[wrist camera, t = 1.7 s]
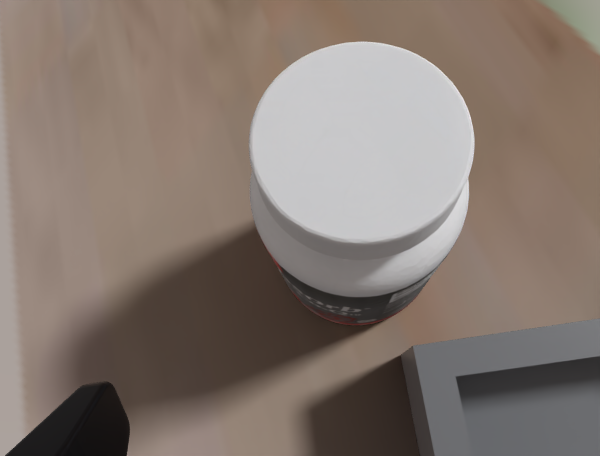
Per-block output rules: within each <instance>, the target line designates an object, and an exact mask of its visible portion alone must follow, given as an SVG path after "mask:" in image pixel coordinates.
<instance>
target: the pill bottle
mask: <svg viewBox="0 0 600 456" xmlns="http://www.w3.org/2000/svg"><path fill="white" fill-rule="evenodd" d="M249 155H250V163H251V168H252V174H251V180H250V203H251V210H252V214H253V218H254V222H255V225H256V228H257V231H258V233H259V235H260V237H261V240H262V242H263V244H264V245H265V247H266V249H267V251H268V252H269V254H270V255H271V257H272V259H273V260H274V262H275V264H276V265H277V267H278V269H279V271H280V273H281V274H282V276H283V278H284V280H285V282H286V283H287V285H288V286H289V288H290V290H291V291H292V292H293V294H294V295H295V296H296V298H297V299H298V300H299V301H300V302H301V303H302V304H303V305H304V306H305V307H307V308H308V309H309V310H311V311H312V312H313V313H315V314H317V315H319V316H320V317H322V318H324V319H327V320H330V321H332V322H336V323H340V324H346V325H366V324H372V323H376V322H380V321H383V320H385V319H388V318H390V317H392V316H394V315H396V314H397V313H399V312H400V311H402V310H403V309H404V308H405V307H407V306H408V305H409V304H410V303H411V302H412V301H413V300H414V299H415V298H416V297H417V295H418V294H419V293H420V291H421V290H422V289H423V287H424V286H425V284H426V283H427V282H428V280H429V279H430V277H431V276H432V275H433V273H434V272H435V271H436V269H437V268H438V267H439V265H440V264H441V263H442V262H443V260H444V259H445V258H446V257H447V255H448V254H449V252H450V251H451V249H452V247H453V246H454V244H455V242H456V240H457V238H458V236H459V234H460V232H461V230H462V227H463V224H464V221H465V217H466V213H467V208H468V199H469V182H468V176H469V173H470V170H471V166H472V162H473V155H474V131H473V126H472V121H471V117H470V114H469V111H468V109H467V106H466V104H465V102H464V99H463V98H462V96H461V94H460V93H459V91H458V90H457V88H456V87H455V86H454V84H453V83H452V82H451V81H450V80H449V78H448V77H447V76H446V75H445V74H444V73H443V72H442V71H441V70H439V69H438V68H437V67H436V66H435V65H433V64H432V63H430V62H428V61H427V60H426V59H424V58H422V57H420V56H419V55H417V54H415V53H412V52H410V51H408V50H405V49H402V48H399V47H395V46H392V45H387V44H383V43H374V42H351V43H343V44H338V45H333V46H329V47H326V48H323V49H320V50H317V51H315V52H312V53H310V54H308V55H306V56H304V57H302V58H301V59H299V60H297V61H296V62H294V63H293V64H291V65H290V66H288V67H287V68H286V69H285V70H284V71H282V72H281V74H280V75H279V76H278V77H276V78H275V79H274V81H273V82H272V83H271V84H270V86H269V87H268V88H267V90H266V91H265V93H264V94H263V96H262V98H261V100H260V101H259V103H258V106H257V108H256V111H255V113H254V115H253V119H252V123H251V127H250V134H249Z"/></svg>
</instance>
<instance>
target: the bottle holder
mask: <svg viewBox="0 0 600 456" xmlns="http://www.w3.org/2000/svg"><path fill="white" fill-rule="evenodd" d="M401 359H402V364H403V369H404V375H405V380H406V385H407V390H408V396H409V401H410V406H411V411H412V417H413V422H414V427H415V432H416V438H417V443H418V448H419V453H420V456H600V319H593V320H587V321H580V322H573V323H566V324H559V325H552V326H546V327H539V328H532V329H525V330H518V331H511V332H504V333H498V334H491V335H484V336H477V337H470V338H463V339H456V340H450V341H443V342H436V343H429V344H422V345H415V346H412V347H411V348H409V349H408V350H407V351H405V352H404V353H403V354H401Z"/></svg>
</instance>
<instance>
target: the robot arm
mask: <svg viewBox="0 0 600 456" xmlns="http://www.w3.org/2000/svg"><path fill="white" fill-rule="evenodd" d="M129 435H130V426H129V420H128V417H127V415H126V413H125V410H124V408H123V406H122V404H121V401H120V399H119V397H118V395H117V392H116V390H115V388H114V386H113V385H112V384H111V383H109V382H98V383H92V384H86V385H83V386H81V387H80V388H79V389H77V390H76V391H75V392H74V393H73V394H72V395H71V396H70V397H69V398H67V399H66V400H65V401H64V402H63V403H62V404H61V405H60V406H59V407H58V408H57V409H55V410H54V411H53V412H52V413H51V414H50V415H49V416H48V417H47V418H46V419H45V420H43V421H42V422H41V423H40V424H39V425H38V426H37V427H36V428H35V429H34V430H33V431H31V432H30V433H29V434H28V435H27V436H26V437H25V438H24V439H23V440H22V441H21V442H19V443H18V444H17V445H16V446H15V447H14V448H13V449H12V450H11V451H10V452H9V453H7V454H6V455H5V456H127V450H128V443H129Z"/></svg>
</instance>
